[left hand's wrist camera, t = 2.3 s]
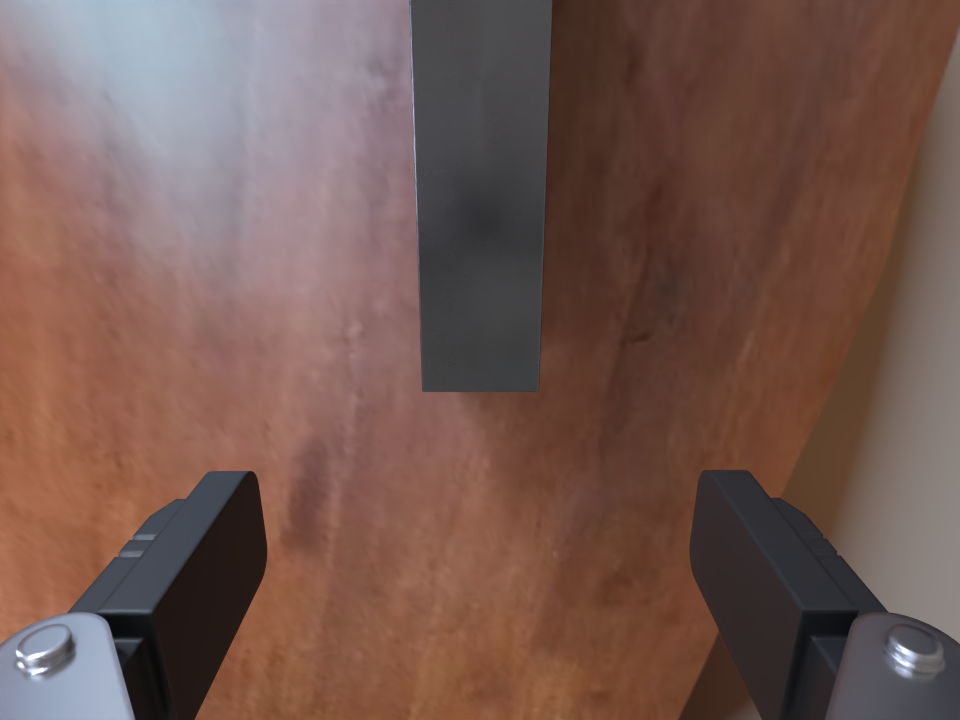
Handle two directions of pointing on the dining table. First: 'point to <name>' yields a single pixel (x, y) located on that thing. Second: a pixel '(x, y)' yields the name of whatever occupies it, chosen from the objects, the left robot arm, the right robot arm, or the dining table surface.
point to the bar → (480, 189)
